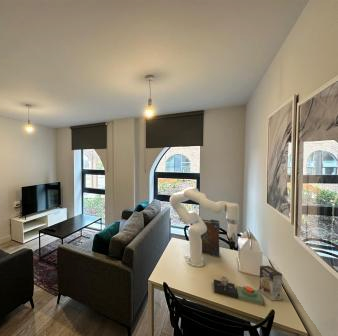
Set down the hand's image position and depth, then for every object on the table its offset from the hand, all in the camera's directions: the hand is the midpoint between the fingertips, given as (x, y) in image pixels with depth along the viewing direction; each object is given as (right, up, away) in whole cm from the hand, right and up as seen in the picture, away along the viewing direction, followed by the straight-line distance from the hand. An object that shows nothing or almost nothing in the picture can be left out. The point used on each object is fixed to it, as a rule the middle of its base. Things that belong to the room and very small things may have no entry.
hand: (232, 246), depth 131 cm
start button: (0, -20, -16) cm, 26 cm away
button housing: (0, -24, -16) cm, 29 cm away
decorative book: (-1, -21, +38) cm, 44 cm away
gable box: (+23, -22, +15) cm, 35 cm away
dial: (-12, -21, -11) cm, 26 cm away
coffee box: (+14, -24, -15) cm, 31 cm away
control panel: (-12, -24, -11) cm, 29 cm away
